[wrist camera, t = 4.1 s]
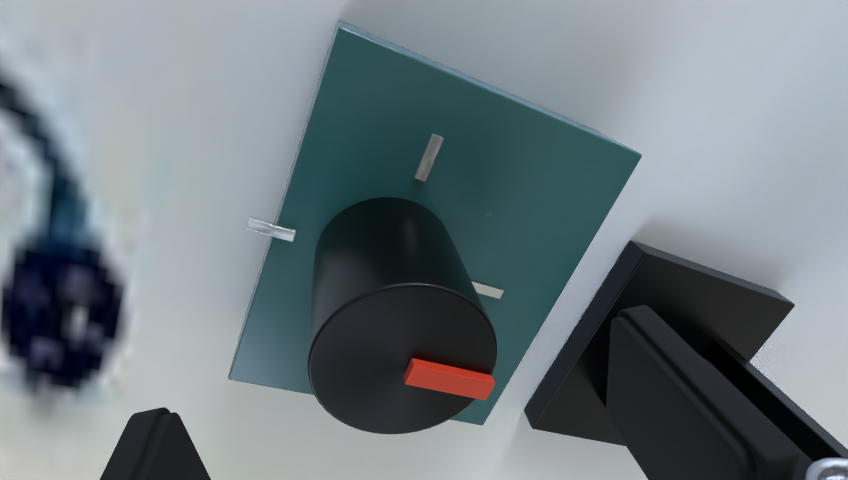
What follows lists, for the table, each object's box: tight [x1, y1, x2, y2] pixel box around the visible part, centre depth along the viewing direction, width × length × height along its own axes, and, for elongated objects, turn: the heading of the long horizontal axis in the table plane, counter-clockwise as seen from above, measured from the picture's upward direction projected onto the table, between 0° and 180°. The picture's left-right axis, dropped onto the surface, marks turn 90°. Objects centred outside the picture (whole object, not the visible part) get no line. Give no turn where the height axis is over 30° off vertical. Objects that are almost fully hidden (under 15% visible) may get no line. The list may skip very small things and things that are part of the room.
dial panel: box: [228, 20, 642, 425], centre depth 17 cm, size 11×12×3 cm
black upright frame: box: [524, 241, 848, 462], centre depth 19 cm, size 10×9×12 cm
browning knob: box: [307, 197, 497, 434], centre depth 13 cm, size 4×4×5 cm
